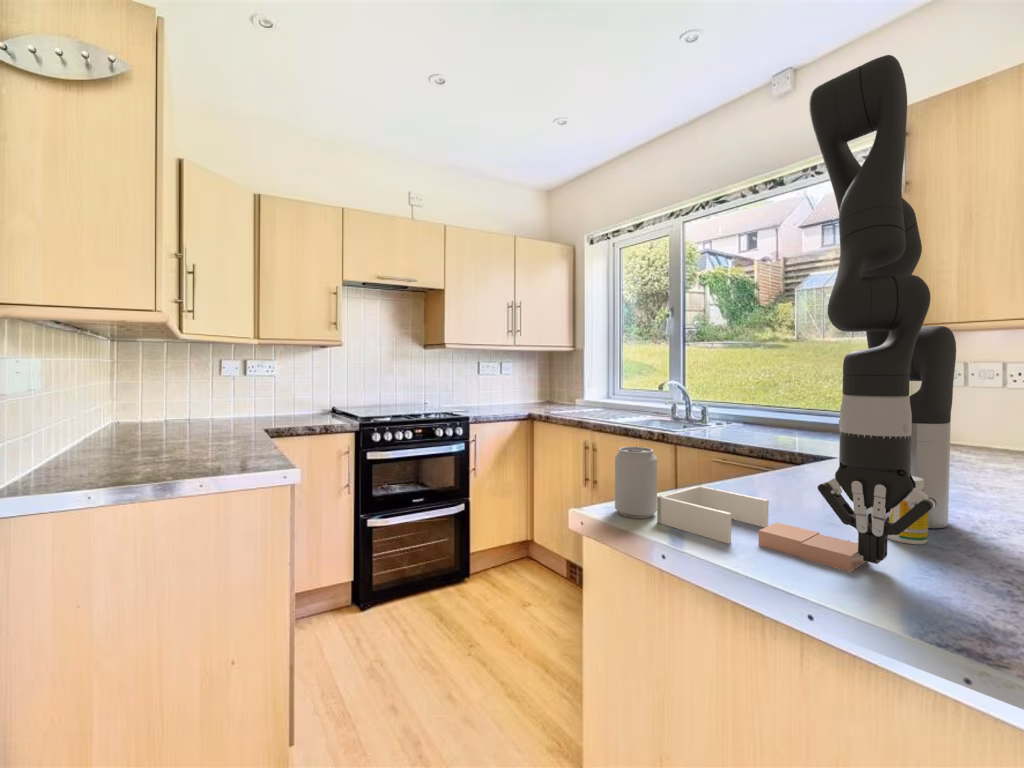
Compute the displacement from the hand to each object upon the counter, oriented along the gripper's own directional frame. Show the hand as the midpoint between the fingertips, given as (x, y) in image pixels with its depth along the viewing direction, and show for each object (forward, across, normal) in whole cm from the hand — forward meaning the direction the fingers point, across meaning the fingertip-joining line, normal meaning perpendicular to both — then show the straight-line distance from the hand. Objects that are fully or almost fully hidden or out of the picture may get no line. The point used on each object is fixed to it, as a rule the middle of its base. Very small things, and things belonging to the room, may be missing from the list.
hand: (872, 560), depth 64 cm
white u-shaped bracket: (+1, +23, 0) cm, 23 cm away
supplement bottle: (+1, 0, -17) cm, 17 cm away
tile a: (+1, +10, 0) cm, 10 cm away
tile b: (+2, +4, 0) cm, 5 cm away
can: (+1, +35, +4) cm, 35 cm away
